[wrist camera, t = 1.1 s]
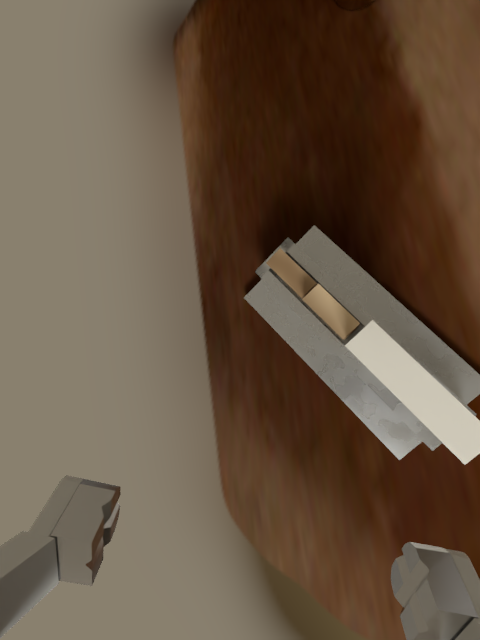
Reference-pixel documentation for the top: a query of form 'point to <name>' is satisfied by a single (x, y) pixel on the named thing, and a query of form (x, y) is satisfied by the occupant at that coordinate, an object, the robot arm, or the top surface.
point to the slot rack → (329, 348)
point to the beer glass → (353, 4)
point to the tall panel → (418, 391)
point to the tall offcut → (331, 311)
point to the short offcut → (291, 273)
